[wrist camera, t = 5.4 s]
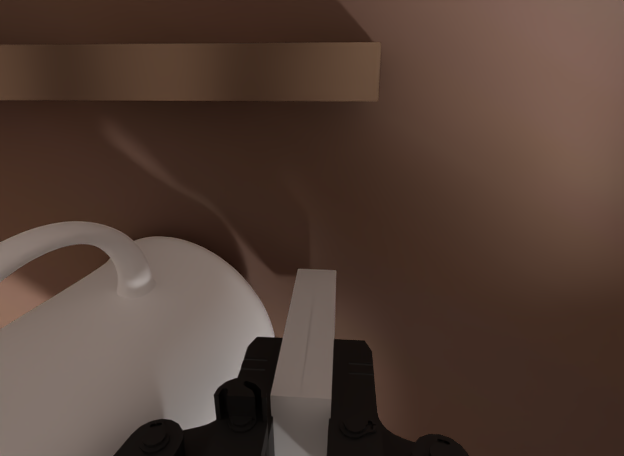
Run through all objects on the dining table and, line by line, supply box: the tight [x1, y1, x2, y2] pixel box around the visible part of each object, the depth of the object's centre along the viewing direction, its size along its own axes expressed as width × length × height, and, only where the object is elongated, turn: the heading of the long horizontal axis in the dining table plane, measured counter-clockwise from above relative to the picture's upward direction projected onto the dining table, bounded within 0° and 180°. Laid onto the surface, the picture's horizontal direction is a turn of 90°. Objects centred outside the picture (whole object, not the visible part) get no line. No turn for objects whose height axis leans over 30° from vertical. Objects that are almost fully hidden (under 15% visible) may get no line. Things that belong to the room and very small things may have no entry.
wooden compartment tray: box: [0, 42, 381, 101], centre depth 19 cm, size 32×31×6 cm
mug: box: [0, 221, 275, 456], centre depth 13 cm, size 12×8×12 cm
